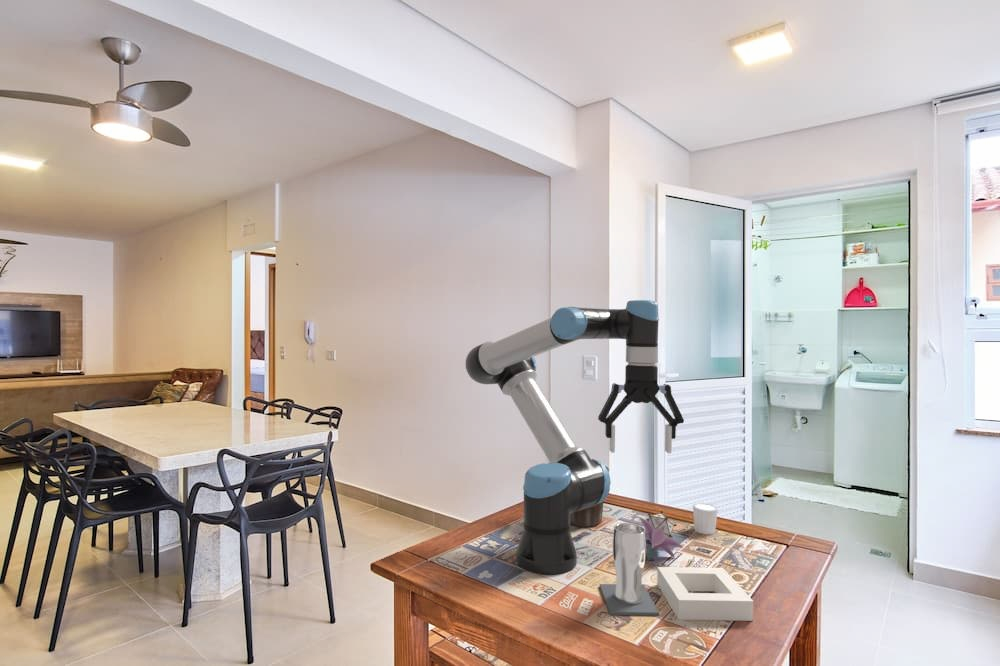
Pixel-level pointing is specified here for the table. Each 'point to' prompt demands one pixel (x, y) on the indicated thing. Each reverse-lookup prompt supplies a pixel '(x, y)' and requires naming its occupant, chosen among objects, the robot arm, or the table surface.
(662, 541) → the lily
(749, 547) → the table surface
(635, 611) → the slate coaster
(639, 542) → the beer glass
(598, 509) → the plant pot
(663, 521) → the game die
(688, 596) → the board
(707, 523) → the white short tapered cylinder
